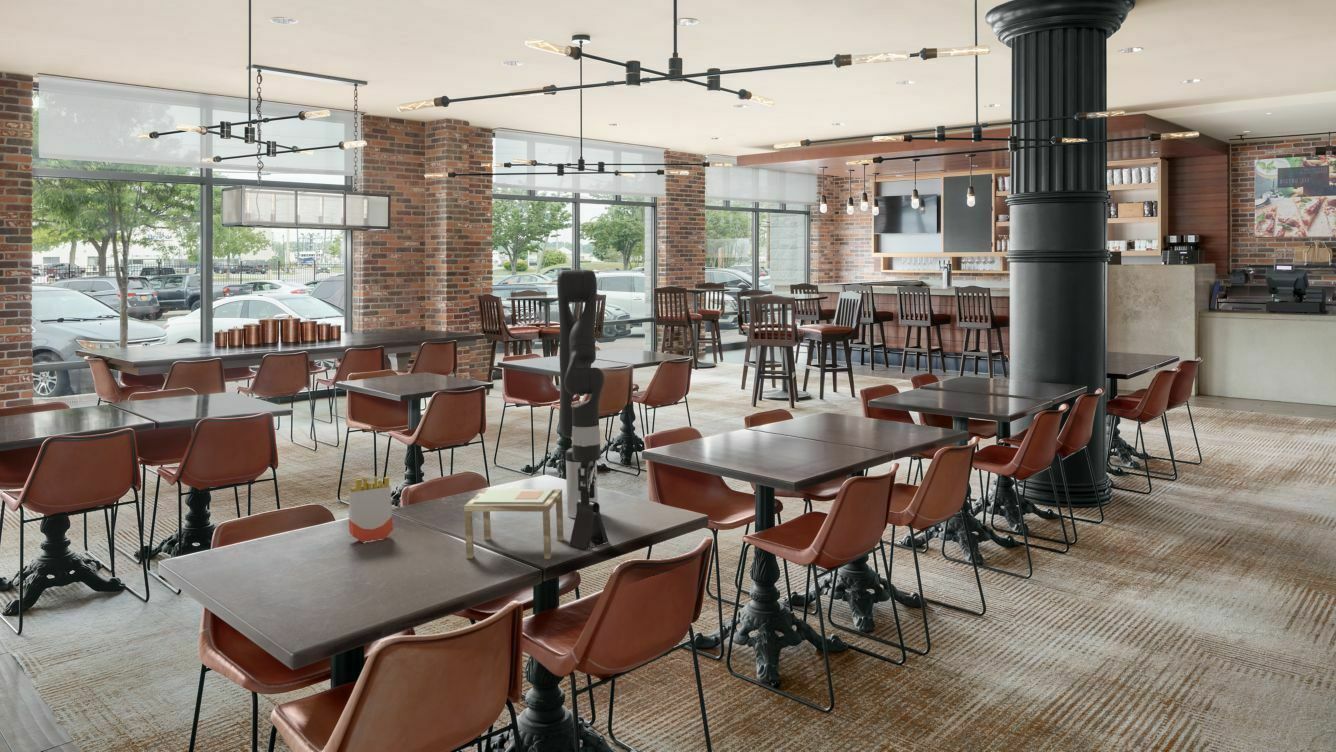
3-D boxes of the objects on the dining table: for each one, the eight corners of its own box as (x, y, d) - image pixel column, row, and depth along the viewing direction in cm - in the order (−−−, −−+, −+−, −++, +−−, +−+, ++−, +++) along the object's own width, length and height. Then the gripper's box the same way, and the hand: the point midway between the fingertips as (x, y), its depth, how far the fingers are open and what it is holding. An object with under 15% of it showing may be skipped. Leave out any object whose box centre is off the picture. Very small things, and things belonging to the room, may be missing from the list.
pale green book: (489, 495, 259) (488, 488, 259) (553, 495, 258) (553, 488, 257) (474, 509, 245) (473, 501, 245) (542, 509, 243) (541, 501, 243)
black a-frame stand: (584, 550, 250) (583, 506, 248) (569, 546, 254) (567, 502, 252) (608, 542, 256) (607, 499, 255) (593, 538, 260) (592, 496, 259)
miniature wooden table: (485, 538, 263) (483, 489, 261) (563, 538, 261) (562, 489, 259) (466, 558, 245) (464, 505, 243) (550, 558, 243) (548, 505, 241)
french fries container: (349, 541, 263) (346, 477, 260) (389, 534, 268) (385, 472, 266) (353, 545, 259) (349, 480, 257) (393, 538, 264) (389, 475, 262)
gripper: (577, 437, 259) (578, 495, 261) (567, 446, 245) (569, 508, 247) (604, 437, 259) (605, 495, 260) (595, 446, 244) (597, 508, 246)
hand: (588, 501), depth 253 cm, fingers open, 8 cm apart
